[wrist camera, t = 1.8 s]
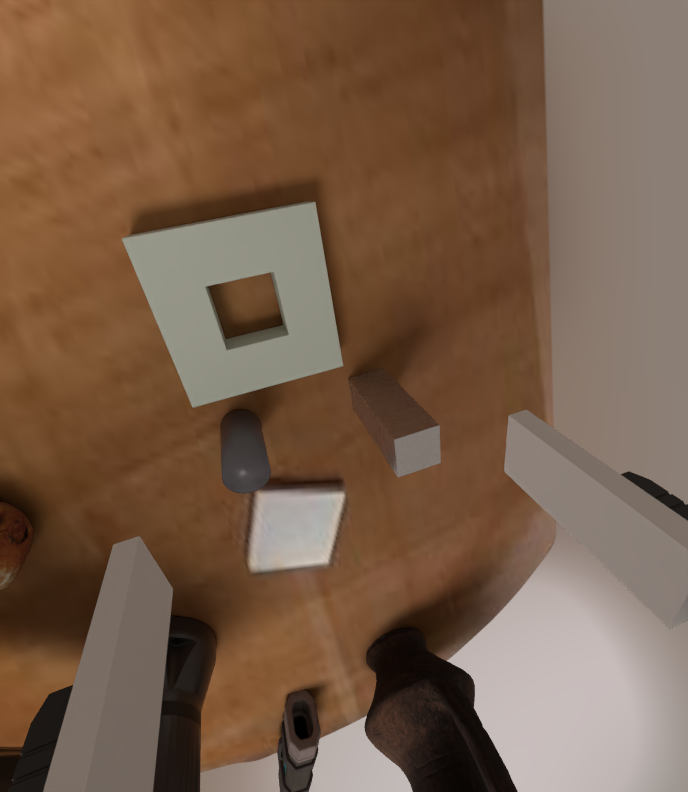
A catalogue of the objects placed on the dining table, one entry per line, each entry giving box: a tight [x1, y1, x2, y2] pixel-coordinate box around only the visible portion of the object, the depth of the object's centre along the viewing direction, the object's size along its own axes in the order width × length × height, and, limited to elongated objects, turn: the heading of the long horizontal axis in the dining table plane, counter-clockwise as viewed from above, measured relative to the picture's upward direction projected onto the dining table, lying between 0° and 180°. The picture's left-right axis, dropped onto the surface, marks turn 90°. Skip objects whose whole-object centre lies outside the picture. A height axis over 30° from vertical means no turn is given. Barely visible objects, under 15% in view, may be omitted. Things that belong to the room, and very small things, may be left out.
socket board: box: [122, 202, 343, 407], centre depth 32 cm, size 14×14×3 cm
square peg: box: [348, 368, 441, 477], centre depth 36 cm, size 4×4×12 cm
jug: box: [365, 628, 517, 792], centre depth 55 cm, size 21×18×30 cm
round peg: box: [220, 409, 271, 493], centre depth 36 cm, size 4×4×8 cm
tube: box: [277, 690, 321, 792], centre depth 68 cm, size 11×7×30 cm
